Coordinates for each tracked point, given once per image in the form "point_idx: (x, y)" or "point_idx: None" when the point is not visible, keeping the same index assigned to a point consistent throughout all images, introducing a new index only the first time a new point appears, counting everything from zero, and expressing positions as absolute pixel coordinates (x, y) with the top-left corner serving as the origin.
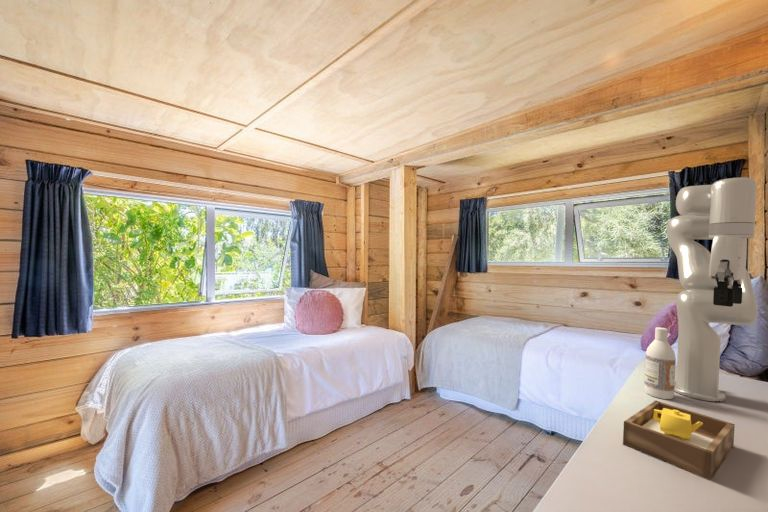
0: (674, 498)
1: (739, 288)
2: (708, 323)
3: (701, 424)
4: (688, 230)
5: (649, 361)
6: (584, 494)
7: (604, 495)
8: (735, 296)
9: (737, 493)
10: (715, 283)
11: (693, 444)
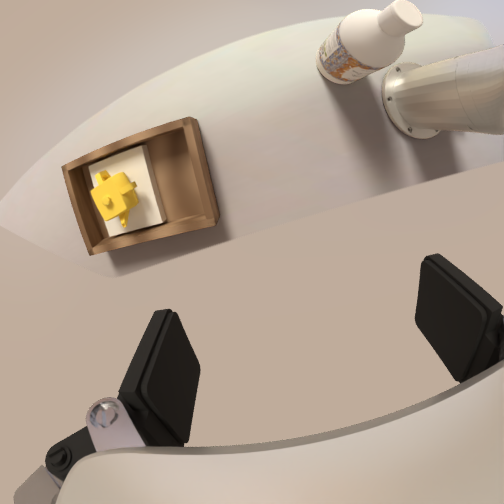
0: (53, 245)
1: (457, 377)
2: None
3: (123, 226)
4: None
5: (336, 29)
6: (5, 217)
7: (14, 223)
8: (434, 329)
9: (108, 263)
10: (88, 427)
11: (118, 218)
